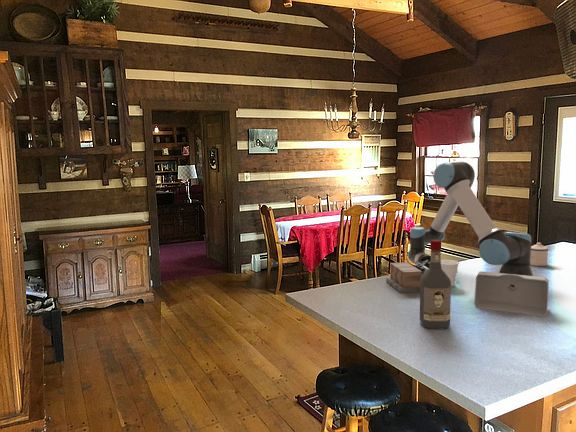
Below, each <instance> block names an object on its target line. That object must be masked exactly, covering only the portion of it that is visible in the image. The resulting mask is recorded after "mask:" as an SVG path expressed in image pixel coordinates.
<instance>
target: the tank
mask: <svg viewBox="0 0 576 432" xmlns="http://www.w3.org/2000/svg"><path fill="white" fill-rule="evenodd" d="M549 281H550V280H549V278H547V277H546V276H545V277H544V276H535V275H533V276H526V275H515V274H504V273H499V272H491V271H479V272H478V273H477V274H476V276H475V287H474V299H473V300H474V302H473V304H474V307H475V308H477V309H487V310H494V311H500V312H507V311H508V313H515V312H516V313H517V314H523V313H524V315H531V314H532V316H539V315H540V317H546V316H547V314H548V307H549V306H548V305H549V304H548V303H549V302H548V301H549ZM512 286H514V287H512Z"/></svg>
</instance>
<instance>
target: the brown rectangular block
mask: <svg viewBox="0 0 576 432" xmlns="http://www.w3.org/2000/svg"><path fill="white" fill-rule="evenodd" d="M422 275H423V272H422V271H420V270H419V269H417V268H415V265H414V266H413V264H410V263H409V262H407V261H406V262H405V261H404V262H390V277H386V278H385V279H386V280H385V281H386V283H387V284H389V286H390V287H392V288H393V289H395V291H397V292H398V293H412V292H413V293H414V292H415V293H416V292H419V293H420V278H421V276H422Z"/></svg>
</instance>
